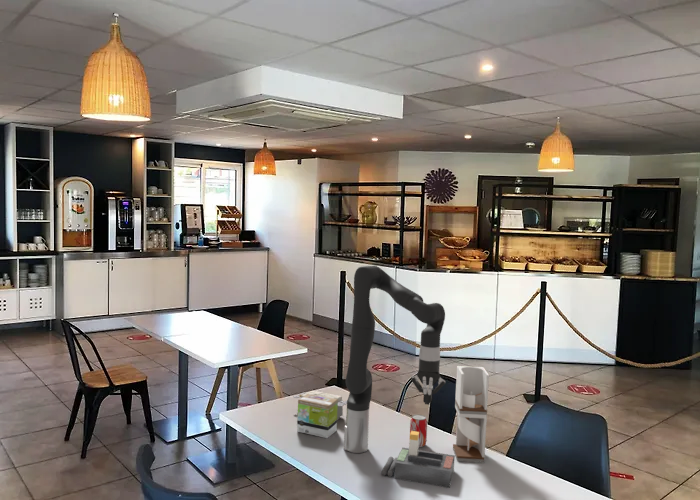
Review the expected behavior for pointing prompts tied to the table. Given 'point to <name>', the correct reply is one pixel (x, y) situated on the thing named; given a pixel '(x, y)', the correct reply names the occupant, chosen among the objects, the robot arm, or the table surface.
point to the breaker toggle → (414, 443)
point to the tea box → (317, 415)
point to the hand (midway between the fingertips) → (427, 403)
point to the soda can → (419, 428)
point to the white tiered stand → (471, 413)
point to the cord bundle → (389, 467)
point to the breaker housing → (425, 467)
